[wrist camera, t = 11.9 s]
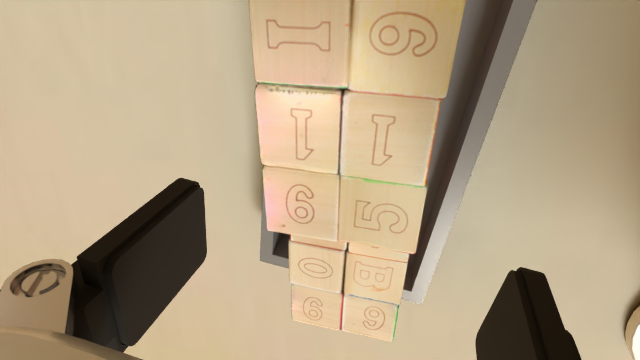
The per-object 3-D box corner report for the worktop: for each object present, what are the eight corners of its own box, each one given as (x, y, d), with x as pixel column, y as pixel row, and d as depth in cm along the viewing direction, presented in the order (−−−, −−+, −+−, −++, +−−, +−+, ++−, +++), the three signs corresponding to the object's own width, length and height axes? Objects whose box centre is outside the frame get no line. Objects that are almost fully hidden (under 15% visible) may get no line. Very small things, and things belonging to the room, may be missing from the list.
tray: (584, -184, 16) (619, -218, 13) (421, 272, 31) (421, 304, 28) (303, -202, 18) (279, -235, 15) (274, 234, 33) (259, 260, 30)
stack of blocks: (401, 243, 29) (387, 397, 18) (323, 229, 30) (270, 366, 20) (461, -95, 18) (510, -184, 8) (337, -95, 19) (234, -171, 9)
